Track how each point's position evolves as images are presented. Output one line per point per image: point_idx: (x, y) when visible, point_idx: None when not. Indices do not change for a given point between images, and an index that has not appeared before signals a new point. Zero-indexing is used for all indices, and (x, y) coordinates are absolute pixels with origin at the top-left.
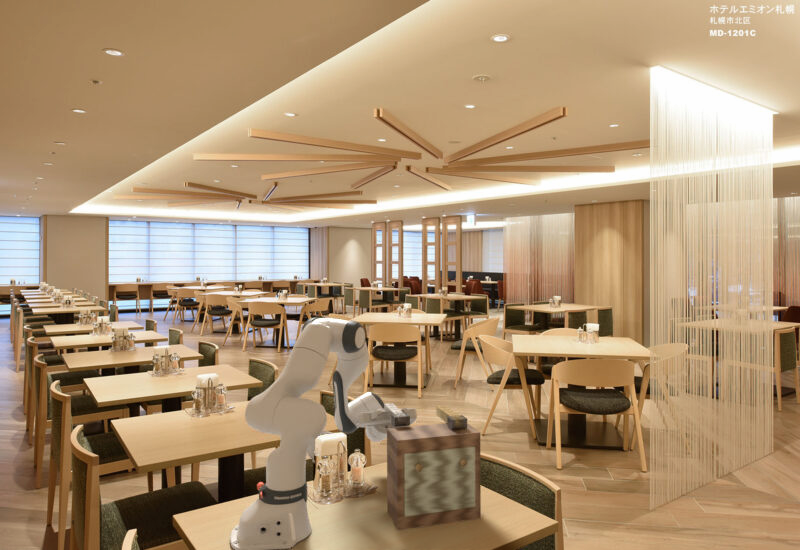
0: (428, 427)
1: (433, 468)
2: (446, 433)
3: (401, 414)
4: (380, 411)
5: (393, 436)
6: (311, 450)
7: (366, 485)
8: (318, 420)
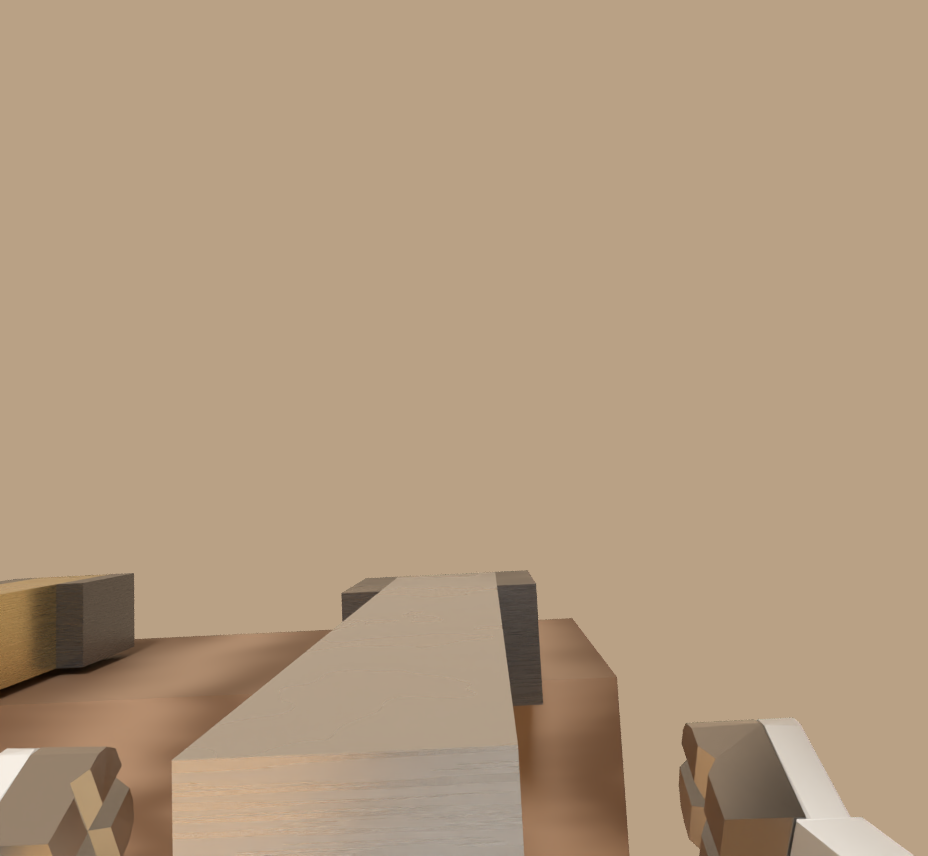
0: (229, 676)
1: None
2: (213, 642)
3: (425, 583)
4: (683, 734)
5: (583, 635)
6: None
7: None
8: None
